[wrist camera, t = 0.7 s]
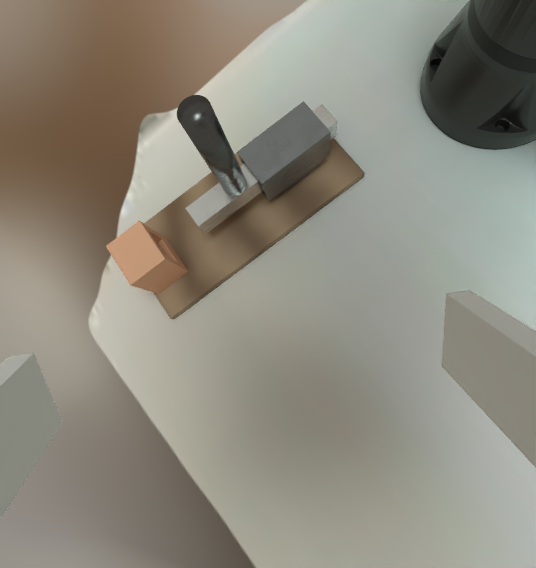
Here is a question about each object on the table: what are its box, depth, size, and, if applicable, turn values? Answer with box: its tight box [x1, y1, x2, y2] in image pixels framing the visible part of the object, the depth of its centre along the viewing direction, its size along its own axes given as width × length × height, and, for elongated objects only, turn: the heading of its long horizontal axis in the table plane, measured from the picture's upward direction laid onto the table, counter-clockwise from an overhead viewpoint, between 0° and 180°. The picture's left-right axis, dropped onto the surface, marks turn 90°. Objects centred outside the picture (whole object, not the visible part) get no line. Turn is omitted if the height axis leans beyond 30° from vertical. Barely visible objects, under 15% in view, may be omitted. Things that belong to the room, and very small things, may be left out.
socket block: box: [106, 221, 188, 294], centre depth 37 cm, size 4×5×6 cm
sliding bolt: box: [177, 95, 337, 234], centre depth 30 cm, size 17×2×14 cm, turn 126°
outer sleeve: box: [237, 102, 331, 201], centre depth 37 cm, size 8×4×6 cm, turn 126°
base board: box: [144, 138, 364, 319], centre depth 40 cm, size 26×11×1 cm, turn 126°
